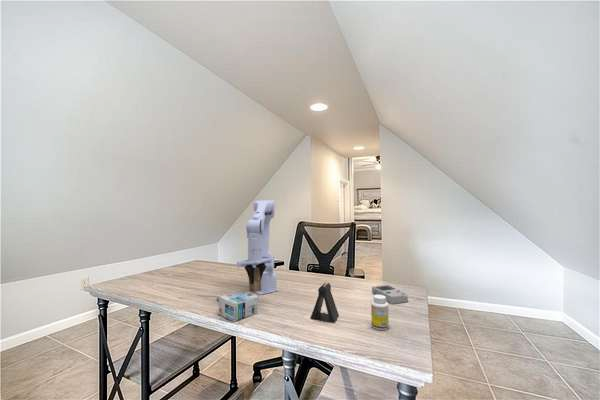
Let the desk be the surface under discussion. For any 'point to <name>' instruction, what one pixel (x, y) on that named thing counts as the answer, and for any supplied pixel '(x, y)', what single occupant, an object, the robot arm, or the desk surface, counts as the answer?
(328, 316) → the black triangular stand
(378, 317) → the supplement bottle
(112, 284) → the desk surface
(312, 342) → the desk surface
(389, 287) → the handheld gaming device
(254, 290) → the brown rectangular block
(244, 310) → the light bulb box
